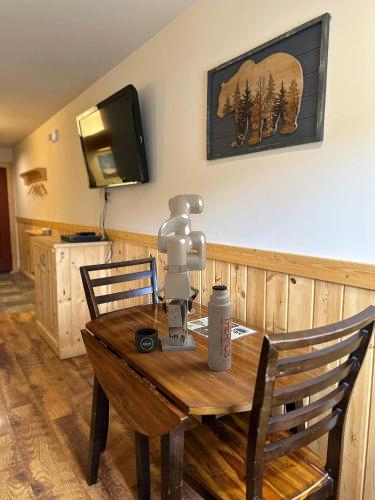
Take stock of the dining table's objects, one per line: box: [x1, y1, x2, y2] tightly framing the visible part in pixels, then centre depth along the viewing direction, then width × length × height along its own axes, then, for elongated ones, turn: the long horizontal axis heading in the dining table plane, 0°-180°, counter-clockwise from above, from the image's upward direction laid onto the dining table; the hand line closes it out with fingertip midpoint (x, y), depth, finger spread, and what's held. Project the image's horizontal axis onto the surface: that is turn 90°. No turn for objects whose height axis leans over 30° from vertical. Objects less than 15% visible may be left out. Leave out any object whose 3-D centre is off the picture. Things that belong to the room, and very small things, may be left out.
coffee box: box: [167, 299, 189, 346], centre depth 137 cm, size 9×6×16 cm
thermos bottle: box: [207, 284, 232, 372], centre depth 117 cm, size 8×8×28 cm
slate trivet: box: [159, 334, 197, 353], centre depth 138 cm, size 13×13×1 cm
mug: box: [134, 327, 159, 353], centre depth 134 cm, size 12×9×7 cm
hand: (177, 311), depth 136 cm, fingers open, 9 cm apart
